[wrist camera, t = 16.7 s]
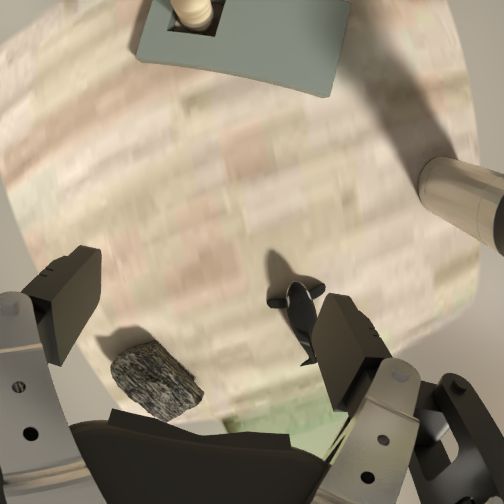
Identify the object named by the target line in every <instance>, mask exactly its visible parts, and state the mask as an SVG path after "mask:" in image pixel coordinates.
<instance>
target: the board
mask: <svg viewBox="0 0 504 504" xmlns="http://www.w3.org/2000/svg"><path fill="white" fill-rule="evenodd" d="M210 1H211V2H214V3H221V4H225V5H224V8H223V11H222V15H221V18H220V21H219V25H218V28H217V32H216V35H215V37H211V36H205V35H197V34H190V33H181V32H173V28H174V25H175V22H176V18H177V13H176V12H175V10H174V8H173V6H172V4H171V1H170V0H153V1H152V4H151V7H150V10H149V13H148V16H147V19H146V22H145V26H144V29H143V32H142V36H141V39H140V43H139V46H138V50H137V54H136V59H137V60H139V61H140V62H143V63H154V64H163V65H172V66H180V67H187V68H194V69H201V70H207V71H213V72H218V73H224V74H229V75H234V76H239V77H244V78H249V79H253V80H258V81H262V82H266V83H270V84H274V85H278V86H282V87H286V88H290V89H293V90H297V91H301V92H304V93H308V94H311V95H314V96H318V97H321V98H326V97H330V94H331V90H332V86H333V81H334V77H335V73H336V69H337V65H338V60H339V56H340V52H341V48H342V43H343V39H344V34H345V30H346V25H347V21H348V16H349V12H350V7H351V3H349V2H346V1H343V0H210Z"/></svg>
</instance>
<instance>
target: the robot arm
mask: <svg viewBox="0 0 504 504" xmlns="http://www.w3.org/2000/svg"><path fill="white" fill-rule="evenodd" d="M418 191H419V197H420V200H421V202H422V204H423V206H424V207H425V208H426V209H427V210H428V211H430V212H431V213H433V214H435V215H437V216H438V217H440V218H442V219H444V220H445V221H447V222H449V223H451V224H452V225H454V226H456V227H457V228H459V229H461V230H462V231H464V232H466V233H467V234H469V235H471V236H472V237H474V238H476V239H477V240H479V241H480V242H482V243H484V244H485V245H487V246H489V247H490V248H492V249H493V250H495V251H497V252H498V253H499V254H501V255H502V256H504V174H502V173H499V172H495V171H492V170H489V169H486V168H483V167H480V166H476V165H473V164H469V163H466V162H462V161H459V160H455V159H452V158H448V157H437V158H434V159H432V160H431V161H429V162H428V163H427V165H426V166H425V167H424V169H423V170H422V173H421V175H420V179H419V185H418ZM101 260H102V255H101V250H100V249H96V248H92V247H87V246H83V245H80V246H78V247H77V248H76V249H75V250H74V251H73V252H72V253H71V254H70V255H69V256H63V257H60V258H58V259H56V260H53V261H52V262H51V263H50V264H49V265H48V266H47V267H46V268H45V269H44V270H42V271H41V272H40V273H39V275H37V276H36V277H35V278H34V279H33V280H32V281H31V282H30V283H29V284H28V285H27V286H26V287H25V288H24V289H23V290H22V291H21V292H4V293H2V294H0V504H396V501H397V498H398V496H399V493H400V490H401V487H402V484H403V481H404V478H405V475H406V471H407V468H408V467H409V470H410V473H411V475H412V478H413V481H414V484H415V487H416V490H417V493H418V496H419V499H420V502H421V504H504V437H503V435H502V434H501V432H500V430H499V428H498V427H497V425H496V423H495V422H494V420H493V418H492V417H491V415H490V413H489V412H488V410H487V409H486V407H485V405H484V404H483V402H482V401H481V399H480V398H479V396H478V394H477V393H476V392H475V390H474V388H473V387H472V386H471V384H470V383H469V382H468V381H467V380H466V379H464V378H463V377H461V376H459V375H456V374H453V373H447V374H444V375H443V376H442V378H441V379H440V381H439V382H438V384H433V383H429V382H425V381H421V377H420V375H419V373H418V371H417V370H416V369H415V368H414V367H413V366H412V365H411V364H409V363H408V362H405V361H404V360H401V359H398V358H393V357H392V355H391V354H390V352H389V350H388V349H387V347H386V345H385V344H384V342H383V340H382V339H381V337H379V334H378V332H377V331H376V330H375V327H374V326H373V324H372V323H371V321H370V319H369V318H367V317H366V316H365V315H364V314H363V313H362V312H361V311H358V309H357V307H356V306H355V304H354V302H353V301H352V299H351V298H350V296H346V295H340V294H334V293H329V294H328V295H327V296H326V298H325V300H324V302H323V305H322V308H321V310H320V313H319V315H318V318H317V320H316V323H315V326H314V328H313V332H312V346H313V349H314V352H315V355H316V358H317V362H318V365H319V368H320V371H321V374H322V377H323V380H324V383H325V386H326V389H327V392H328V395H329V399H330V402H331V405H332V408H333V411H334V412H348V415H349V416H348V417H347V419H346V420H345V422H344V423H343V425H342V427H341V429H340V431H339V432H338V434H337V435H336V437H335V439H334V440H333V442H332V444H331V445H330V447H329V449H328V450H327V452H326V454H325V455H324V457H323V459H321V458H319V457H317V456H315V455H313V454H311V453H308V452H306V451H304V450H301V449H298V448H295V447H291V444H290V437H289V434H275V433H259V432H239V433H229V434H219V435H206V436H202V435H197V434H194V433H191V432H188V431H186V430H183V429H180V428H178V427H175V426H173V425H170V424H168V423H165V422H163V421H160V420H158V419H156V418H151V417H146V416H142V415H137V414H133V413H129V412H125V411H121V410H116V409H112V411H111V414H110V417H109V420H94V421H86V422H80V423H77V424H73V425H70V426H68V423H67V421H66V418H65V416H64V413H63V410H62V408H61V405H60V402H59V399H58V396H57V393H56V390H55V387H54V384H53V381H52V378H51V375H50V371H49V368H48V363H51V364H54V365H57V366H60V367H61V366H62V364H63V362H64V361H65V359H66V357H67V355H68V354H69V352H70V350H71V348H72V346H73V345H74V343H75V342H76V340H77V338H78V336H79V335H80V333H81V331H82V330H83V328H84V327H85V325H86V323H87V322H88V320H89V318H90V317H91V315H92V314H93V312H94V310H95V309H96V307H97V305H98V303H99V300H100V295H101ZM449 429H451V431H452V432H453V435H454V437H455V439H456V441H457V443H458V446H459V452H458V456H457V458H456V459H455V460H454V461H453V462H452V463H451V462H450V460H449V457H448V455H447V453H446V451H445V448H444V446H443V444H442V442H441V440H440V439H441V438H442V437H443V436H444V435H445V434H446V432H447V431H448V430H449Z"/></svg>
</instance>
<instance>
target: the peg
mask: <svg viewBox="0 0 504 504" xmlns="http://www.w3.org/2000/svg"><path fill="white" fill-rule="evenodd" d="M170 1H171V4H172V6H173V8H174V10H175V12H176V13H177V15H178V20H179V22H180V23H181V24H182V25H183V26H184V28H185V30H186V31H188V32H189V33H192V34H202V33H205V32H207V31H208V30H209V29H210V28H211V27H212V25H213V23H214V17H213V16H214V10H213V7H212V5H211V1H210V0H170Z"/></svg>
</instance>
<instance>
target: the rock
mask: <svg viewBox="0 0 504 504" xmlns="http://www.w3.org/2000/svg"><path fill="white" fill-rule="evenodd" d="M111 374H112V377H113V379H114V380H115V381H116V383H117V385H118V387H120V388H121V389H122V390H123V391H124V392H125V394H126V395H127V396H128V397H129V398H130V399H132V400H133V401H134V402H137V403H139V404H140V405H141V406H142V407H143V408H145V410H146V411H147V412H148V413H151V414H152V415H153V416H154V417H157V418H158V419H159V420H161V421H163V422H165V423H167V422H168V421H171V420H172V419H174V418H176V417H177V416H180V415H181V414H183V412H185V411H186V410H188V409H191V408H193V407H195V406H197V405H198V404H199V403H200V402H201V401H202V398H203V396H204V391H202V390H201V389H200V388H199V387H198V386H197V385H196V383H195V382H194V381H193V380H192V379H191V378H190V376H189V375H188V374H187V373H186V372H185V371H184V370H183V369H182V368H181V366H180V365H179V364H178V363H177V362H176V361H175V360H174V359H173V358H172V357H171V356H170V354H169V353H168V352H167V351H166V350H165V349H163V347H162V346H161V344H159V343H158V342H157V341H152V342H150V343H148V344H142V345H138V346H135V347H132V348H130V349H128V350H126V351H124V352H122V353H121V354H119V355H118V356H117V359H116V360H115V361H113V363H112V364H111Z"/></svg>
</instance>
